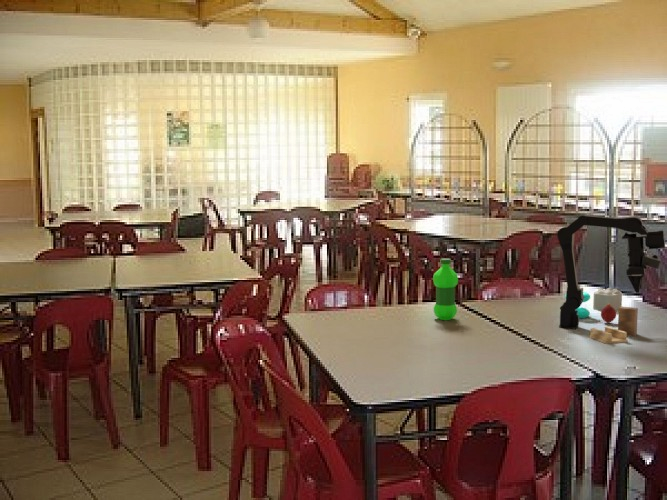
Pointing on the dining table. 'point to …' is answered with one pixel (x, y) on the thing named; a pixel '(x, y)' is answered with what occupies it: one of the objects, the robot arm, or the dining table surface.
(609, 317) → the red rounded piece
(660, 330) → the dining table surface
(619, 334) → the oak base
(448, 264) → the plastic bottle
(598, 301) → the lumpy-topped squat cylinder
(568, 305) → the robot arm
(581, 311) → the donuts
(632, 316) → the brown cardboard box
